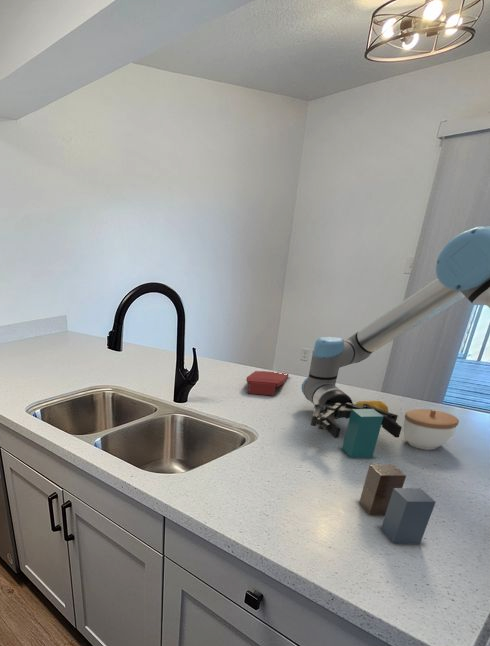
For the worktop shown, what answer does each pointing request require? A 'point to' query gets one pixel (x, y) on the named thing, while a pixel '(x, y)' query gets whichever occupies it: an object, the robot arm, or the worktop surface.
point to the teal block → (362, 433)
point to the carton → (265, 382)
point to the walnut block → (380, 487)
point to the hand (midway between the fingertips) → (368, 432)
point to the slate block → (407, 515)
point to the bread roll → (374, 404)
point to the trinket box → (428, 428)
